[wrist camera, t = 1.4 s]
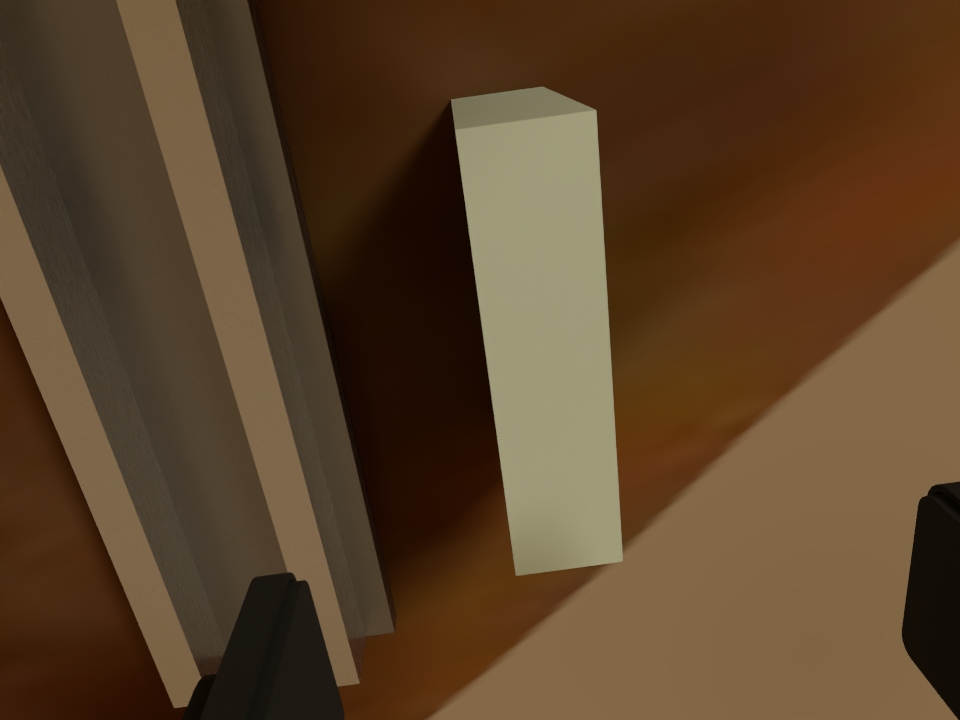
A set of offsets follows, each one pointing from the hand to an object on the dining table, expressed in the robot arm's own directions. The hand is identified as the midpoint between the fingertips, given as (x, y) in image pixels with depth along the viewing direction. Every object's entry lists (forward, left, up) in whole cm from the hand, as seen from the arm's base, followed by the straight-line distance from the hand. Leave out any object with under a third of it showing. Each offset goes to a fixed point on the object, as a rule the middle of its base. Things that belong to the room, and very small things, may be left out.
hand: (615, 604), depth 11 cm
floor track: (0, -12, -16) cm, 20 cm away
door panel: (0, 0, -16) cm, 16 cm away
